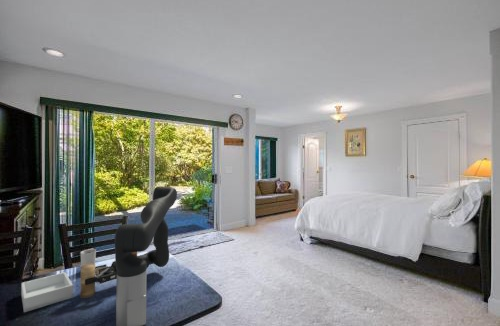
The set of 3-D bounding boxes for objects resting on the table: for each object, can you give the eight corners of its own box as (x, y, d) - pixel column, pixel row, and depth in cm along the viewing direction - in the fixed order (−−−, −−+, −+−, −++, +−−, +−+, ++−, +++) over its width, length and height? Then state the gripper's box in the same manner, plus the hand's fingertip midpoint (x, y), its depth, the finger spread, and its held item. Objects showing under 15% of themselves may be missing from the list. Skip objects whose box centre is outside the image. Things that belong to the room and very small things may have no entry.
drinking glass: (98, 268, 127) (99, 249, 127) (89, 273, 121) (89, 253, 121) (87, 267, 128) (87, 248, 128) (76, 273, 121) (77, 253, 122)
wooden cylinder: (96, 294, 100) (96, 265, 101) (81, 299, 97) (82, 269, 97) (93, 290, 104) (93, 262, 104) (79, 295, 100) (79, 265, 101)
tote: (72, 297, 99) (73, 284, 99) (23, 312, 88) (24, 298, 88) (65, 283, 111) (65, 272, 111) (21, 295, 100) (21, 282, 101)
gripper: (119, 255, 116) (78, 264, 104) (130, 263, 106) (86, 275, 94) (119, 271, 116) (78, 282, 104) (130, 280, 106) (86, 294, 94)
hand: (82, 278), depth 99 cm, fingers open, 8 cm apart
